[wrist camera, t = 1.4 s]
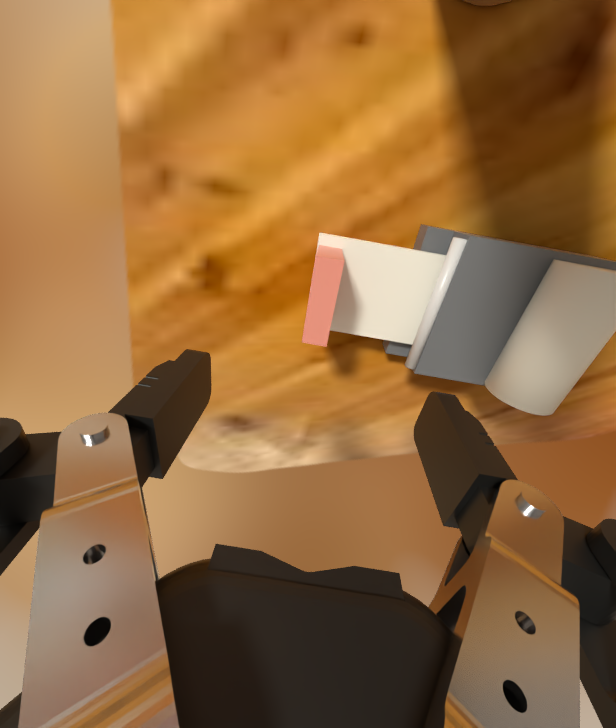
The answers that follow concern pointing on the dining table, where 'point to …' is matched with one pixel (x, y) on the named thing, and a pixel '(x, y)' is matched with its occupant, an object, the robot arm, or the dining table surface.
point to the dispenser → (512, 317)
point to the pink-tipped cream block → (368, 290)
